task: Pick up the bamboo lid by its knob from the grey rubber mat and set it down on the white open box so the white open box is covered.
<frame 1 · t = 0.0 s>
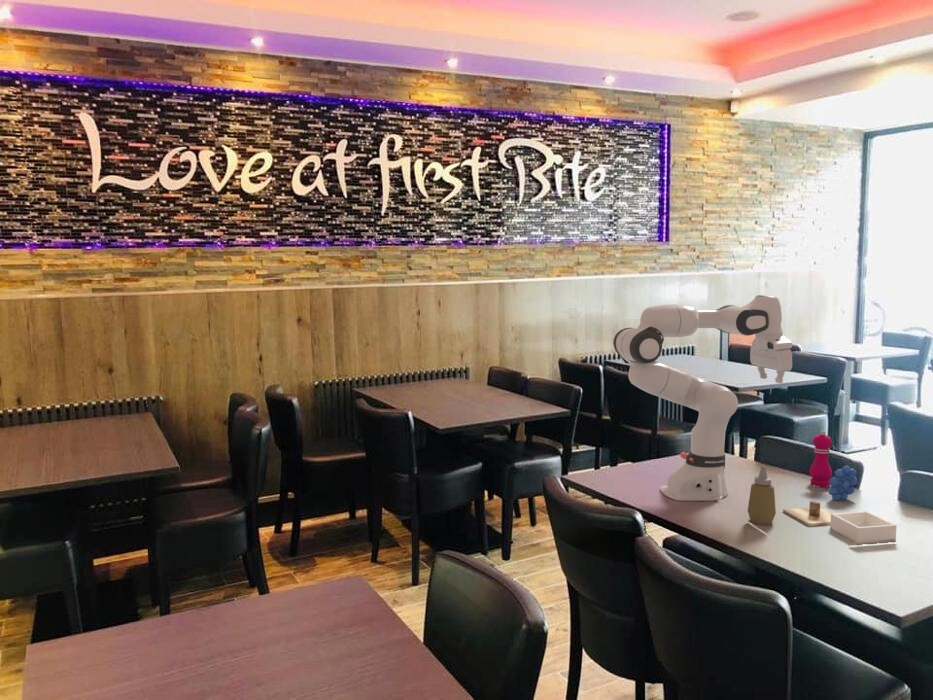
hand: (771, 380, 252), 39 cm above the table, tool pointing down, fingers open, 8 cm apart
lid: (814, 517, 226), point 1 cm above the table, touching mat
pepper mill: (820, 485, 260), on the table
squeeze bottle: (761, 523, 223), on the table
white open box: (862, 535, 212), on the table
mat: (814, 519, 226), on the table
grapes: (839, 500, 244), on the table
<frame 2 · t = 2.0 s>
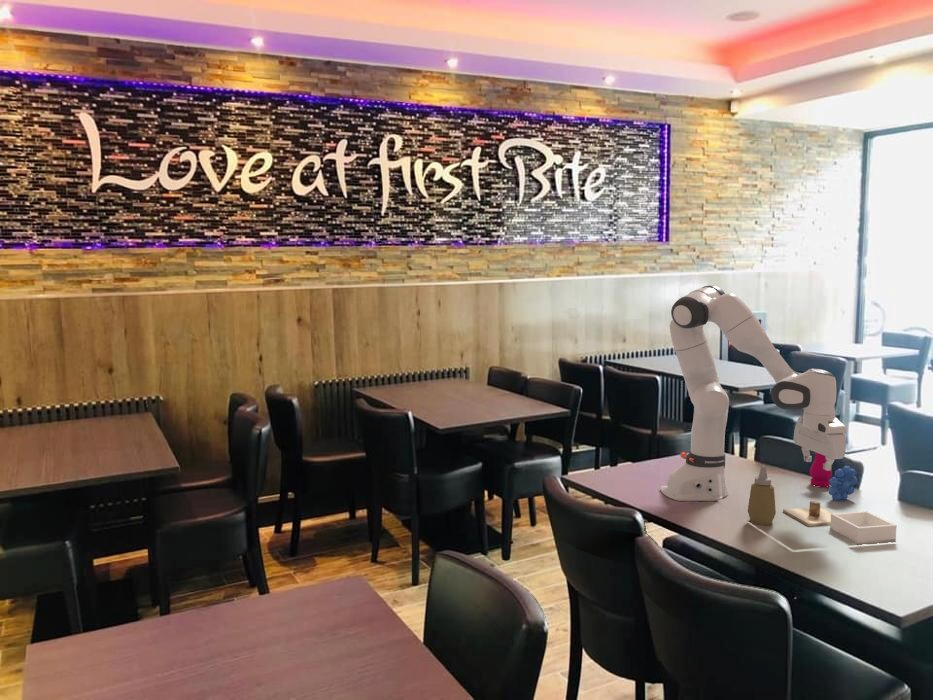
hand: (817, 465, 224), 17 cm above the table, tool pointing down, fingers open, 8 cm apart
nothing on the table moved.
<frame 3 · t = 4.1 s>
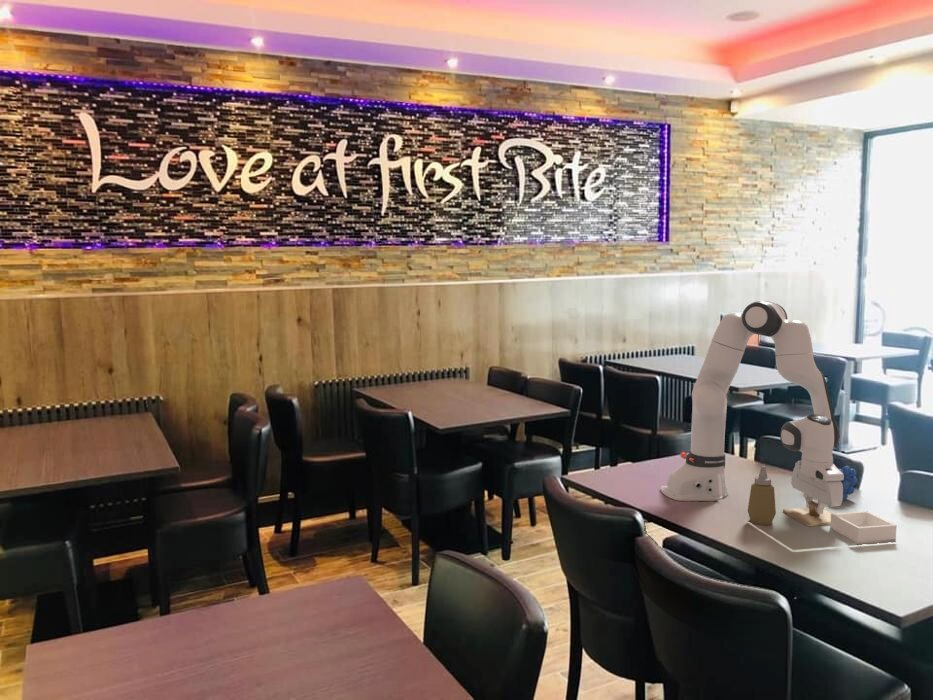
hand: (814, 510, 226), 3 cm above the table, tool pointing down, fingers closed on lid, 3 cm apart
lid: (814, 517, 226), point 1 cm above the table, touching gripper, mat
everything else where it was.
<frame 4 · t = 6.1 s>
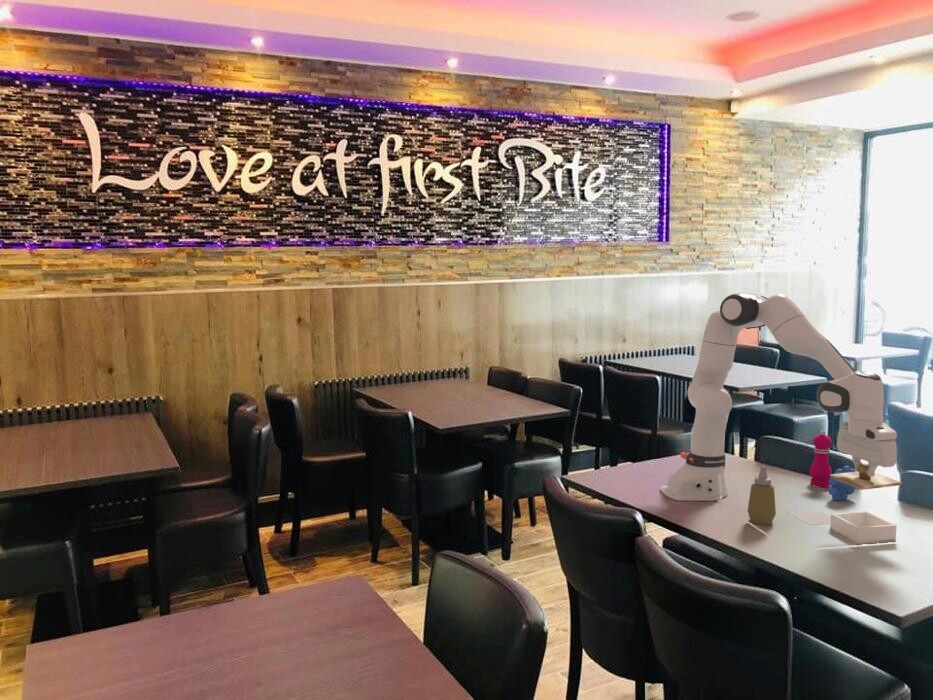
hand: (864, 473, 211), 18 cm above the table, tool pointing down, fingers closed on lid, 3 cm apart
lid: (864, 481, 212), point 16 cm above the table, touching gripper
everything else where it was.
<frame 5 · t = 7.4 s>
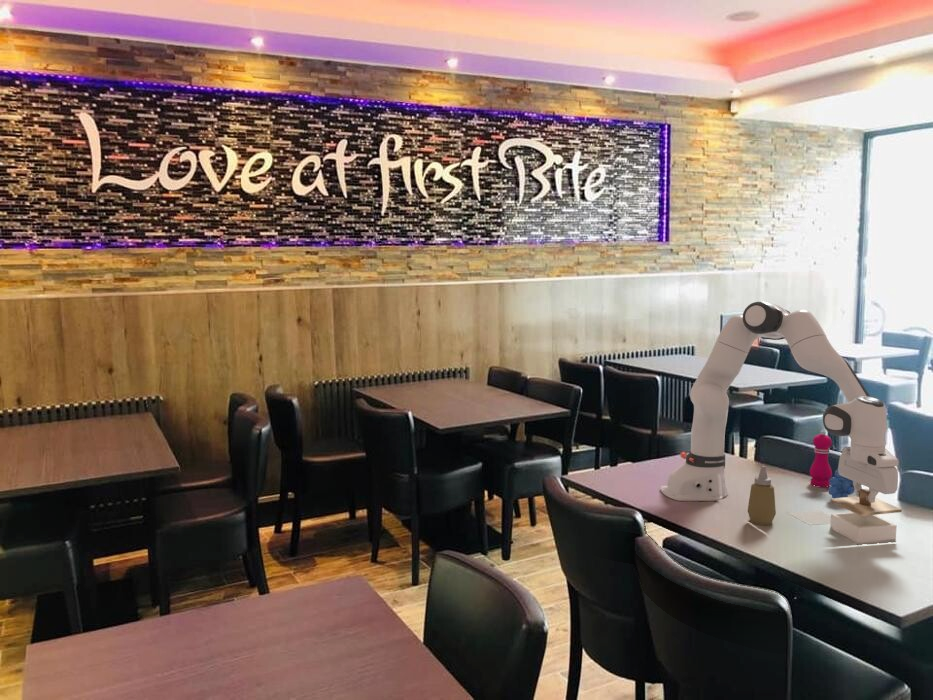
hand: (865, 499, 211), 11 cm above the table, tool pointing down, fingers closed on lid, 3 cm apart
lid: (865, 506, 211), point 9 cm above the table, touching gripper
everything else where it was.
when the fingers open (8 cm above the table, at t = 8.2 s): lid stays where it is, resting on white open box.
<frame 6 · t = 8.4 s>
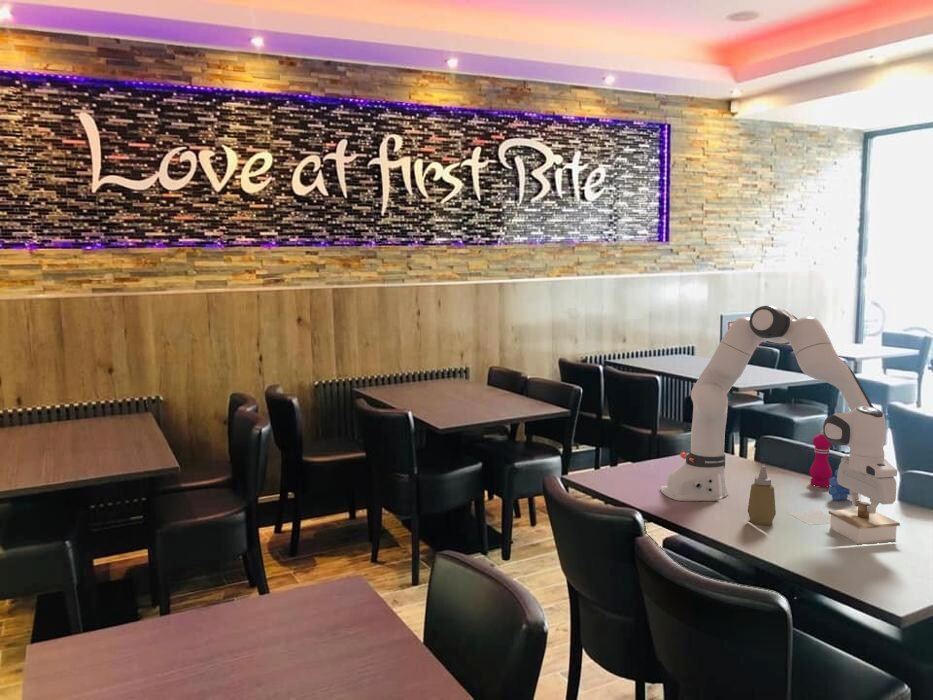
hand: (863, 509, 211), 8 cm above the table, tool pointing down, fingers open, 5 cm apart
lid: (863, 519, 212), point 5 cm above the table, touching white open box
everything else where it was.
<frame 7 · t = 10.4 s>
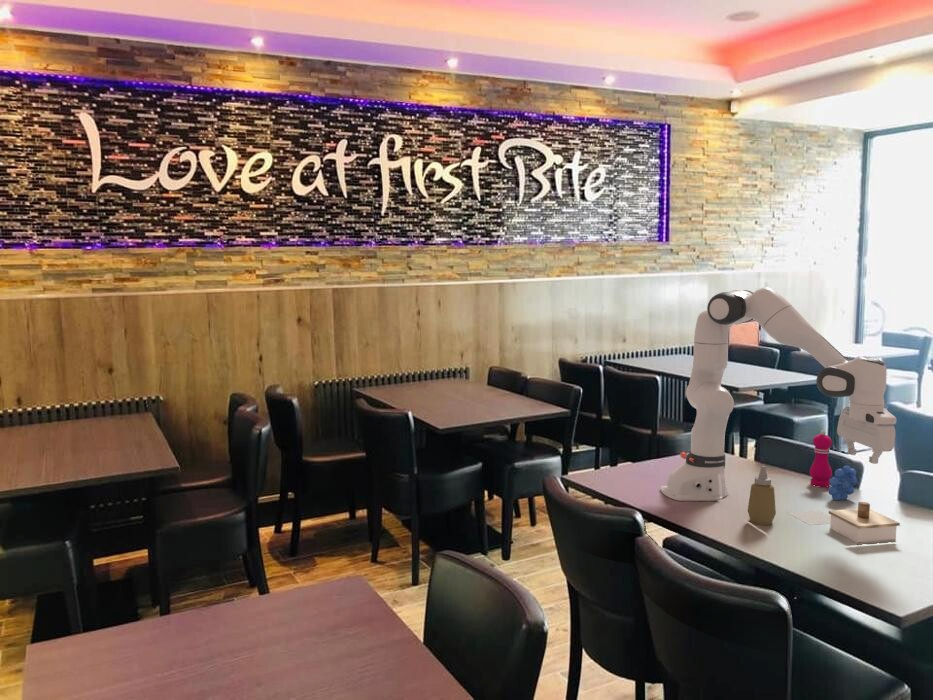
hand: (862, 458, 213), 22 cm above the table, tool pointing down, fingers open, 8 cm apart
nothing on the table moved.
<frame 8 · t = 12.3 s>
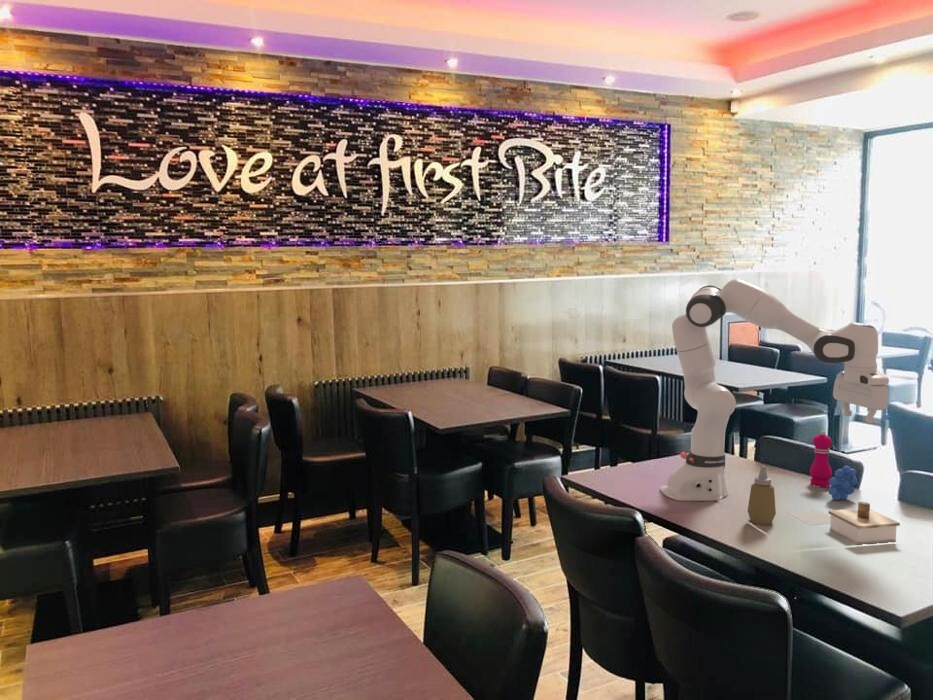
hand: (857, 418, 226), 31 cm above the table, tool pointing down, fingers open, 8 cm apart
nothing on the table moved.
at the end: lid 0.1 cm off-centre on the white open box, point 5.0 cm above the white open box's base; the gripper is holding nothing; lid tilted 0° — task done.
